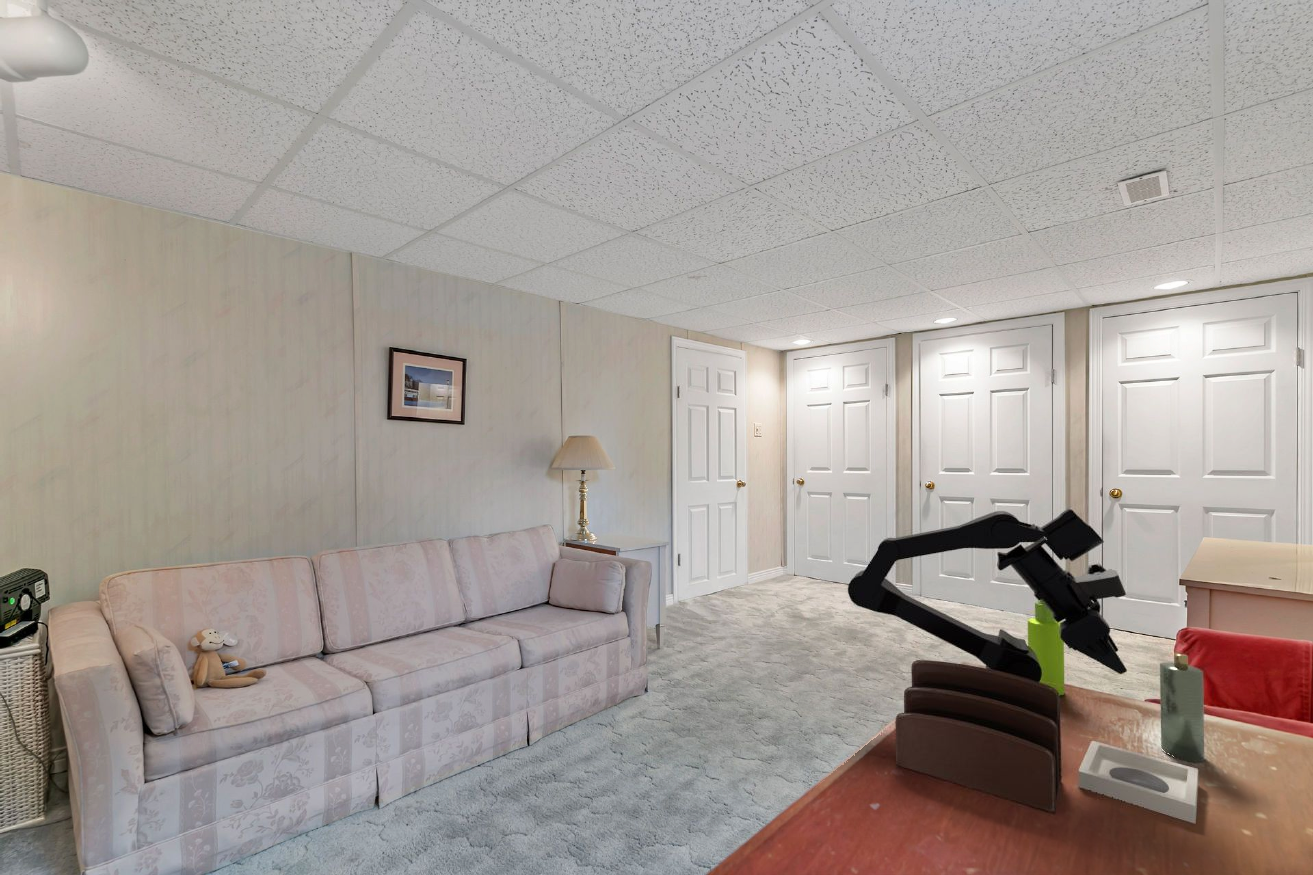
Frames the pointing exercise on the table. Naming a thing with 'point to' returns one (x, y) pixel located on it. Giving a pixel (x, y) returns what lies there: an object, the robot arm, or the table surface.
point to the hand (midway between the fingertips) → (1119, 661)
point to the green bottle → (1182, 709)
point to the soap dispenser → (1047, 646)
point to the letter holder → (982, 732)
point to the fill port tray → (1140, 780)
